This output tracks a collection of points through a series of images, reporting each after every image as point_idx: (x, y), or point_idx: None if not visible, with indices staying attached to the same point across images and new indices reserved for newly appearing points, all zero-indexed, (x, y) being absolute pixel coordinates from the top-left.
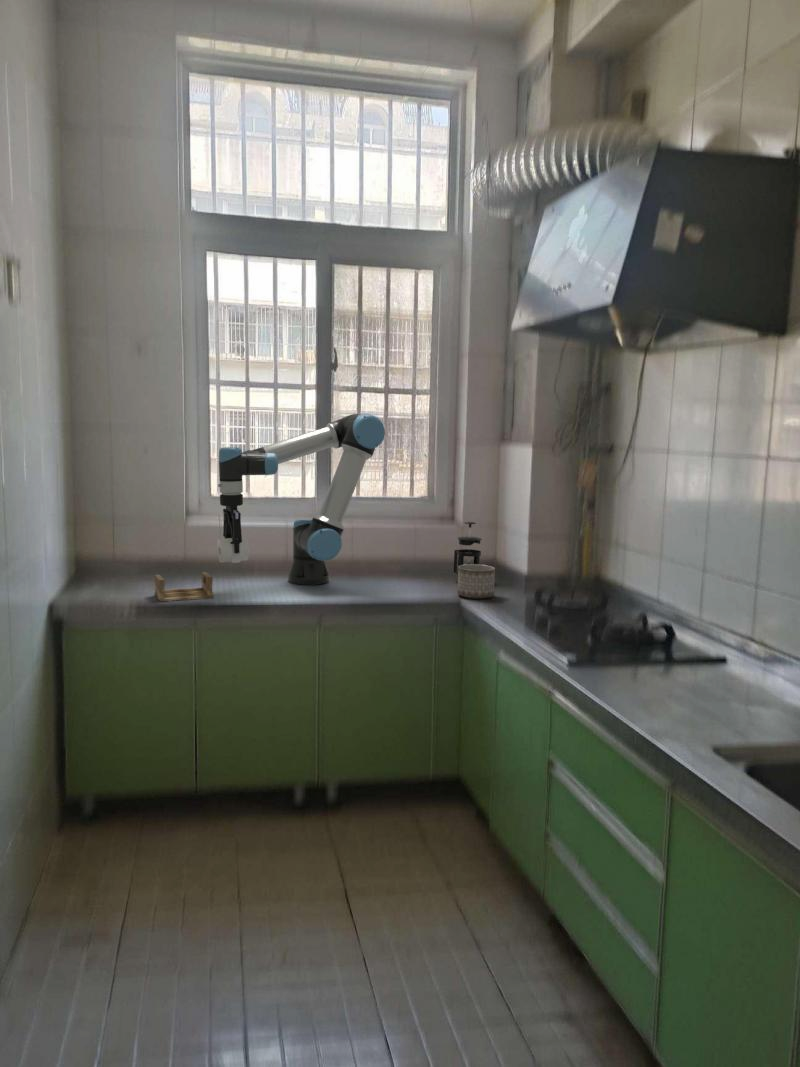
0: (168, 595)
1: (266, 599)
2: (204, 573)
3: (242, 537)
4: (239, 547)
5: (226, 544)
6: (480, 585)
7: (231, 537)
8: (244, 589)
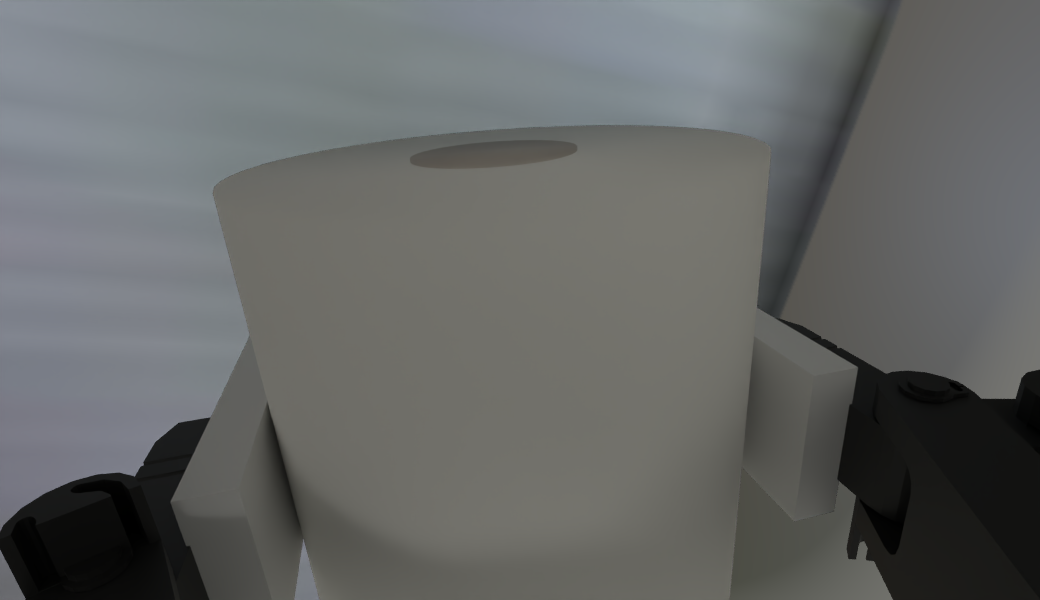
0: None
1: (707, 6)
2: None
3: (585, 314)
4: (792, 343)
5: (730, 585)
6: None
7: (174, 579)
8: (280, 107)
